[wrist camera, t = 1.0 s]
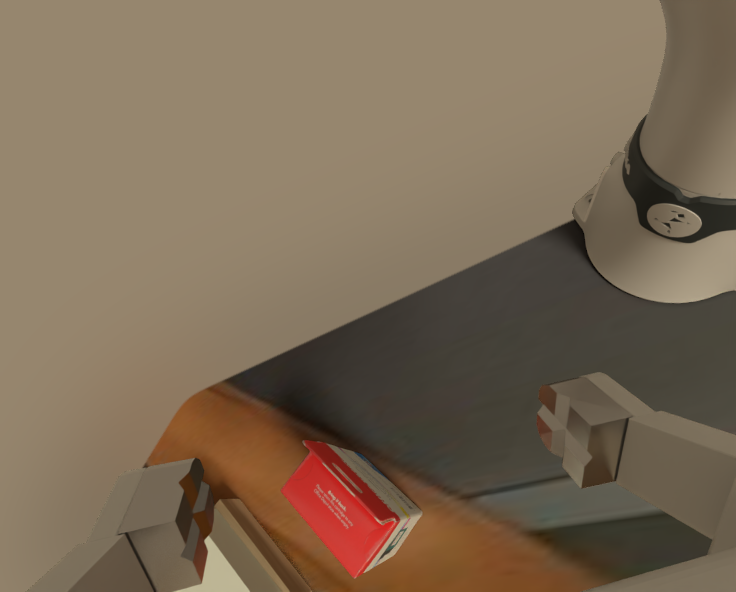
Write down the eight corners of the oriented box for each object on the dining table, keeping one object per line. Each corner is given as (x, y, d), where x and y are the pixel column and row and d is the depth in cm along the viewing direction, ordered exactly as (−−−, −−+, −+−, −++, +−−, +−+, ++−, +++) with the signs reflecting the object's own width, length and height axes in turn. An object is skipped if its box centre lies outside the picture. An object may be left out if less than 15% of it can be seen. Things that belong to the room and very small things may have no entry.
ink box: (331, 491, 41) (255, 489, 28) (361, 451, 42) (301, 433, 29) (394, 558, 37) (337, 591, 24) (426, 513, 38) (387, 521, 25)
